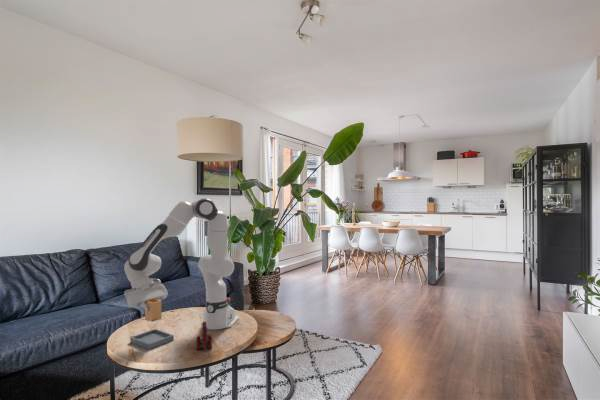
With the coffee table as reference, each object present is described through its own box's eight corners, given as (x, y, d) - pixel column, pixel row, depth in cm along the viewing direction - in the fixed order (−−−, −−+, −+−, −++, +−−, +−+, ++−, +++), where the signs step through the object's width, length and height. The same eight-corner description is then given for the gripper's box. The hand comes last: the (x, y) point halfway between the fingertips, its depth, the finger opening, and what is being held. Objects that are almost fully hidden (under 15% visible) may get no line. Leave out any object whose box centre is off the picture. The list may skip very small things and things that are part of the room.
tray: (130, 342, 172) (130, 337, 172) (155, 333, 183) (155, 328, 183) (148, 349, 163) (148, 344, 163) (173, 340, 175) (173, 335, 175)
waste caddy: (145, 319, 172) (145, 301, 172) (154, 316, 176) (154, 298, 176) (152, 321, 168) (152, 303, 169) (161, 318, 173) (161, 300, 173)
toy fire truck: (196, 353, 160) (196, 330, 160) (196, 342, 172) (196, 321, 172) (212, 351, 162) (211, 328, 162) (211, 340, 174) (211, 320, 174)
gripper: (125, 286, 168) (136, 310, 162) (162, 278, 184) (174, 300, 179) (120, 294, 170) (131, 318, 165) (157, 286, 187) (168, 307, 182)
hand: (154, 308), depth 172 cm, fingers closed on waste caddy, 5 cm apart
